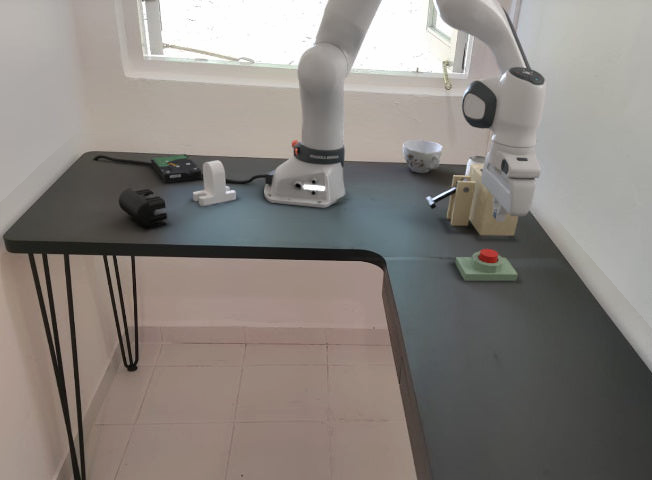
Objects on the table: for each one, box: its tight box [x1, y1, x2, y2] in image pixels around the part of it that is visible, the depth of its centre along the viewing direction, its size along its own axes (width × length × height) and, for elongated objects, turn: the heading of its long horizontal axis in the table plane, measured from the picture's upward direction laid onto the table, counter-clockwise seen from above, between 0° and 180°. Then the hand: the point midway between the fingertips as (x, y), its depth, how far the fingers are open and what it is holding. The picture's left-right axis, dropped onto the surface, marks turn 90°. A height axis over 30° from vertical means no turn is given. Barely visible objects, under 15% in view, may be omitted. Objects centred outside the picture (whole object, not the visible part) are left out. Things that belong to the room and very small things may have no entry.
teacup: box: [402, 139, 444, 174], centre depth 187 cm, size 15×12×8 cm
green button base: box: [454, 250, 519, 282], centre depth 133 cm, size 12×8×4 cm, turn 99°
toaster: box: [469, 164, 519, 237], centre depth 152 cm, size 9×16×14 cm, turn 9°
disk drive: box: [150, 154, 203, 183], centre depth 168 cm, size 10×3×15 cm
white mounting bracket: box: [192, 159, 237, 207], centre depth 153 cm, size 5×10×10 cm, turn 131°
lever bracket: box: [446, 174, 476, 227], centre depth 151 cm, size 6×8×13 cm
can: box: [464, 155, 486, 176], centre depth 169 cm, size 6×6×12 cm
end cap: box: [118, 187, 168, 229], centre depth 138 cm, size 10×7×7 cm
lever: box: [425, 178, 468, 210], centre depth 149 cm, size 11×5×2 cm
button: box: [479, 248, 499, 263], centre depth 132 cm, size 4×4×2 cm
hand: (498, 219), depth 127 cm, fingers closed
